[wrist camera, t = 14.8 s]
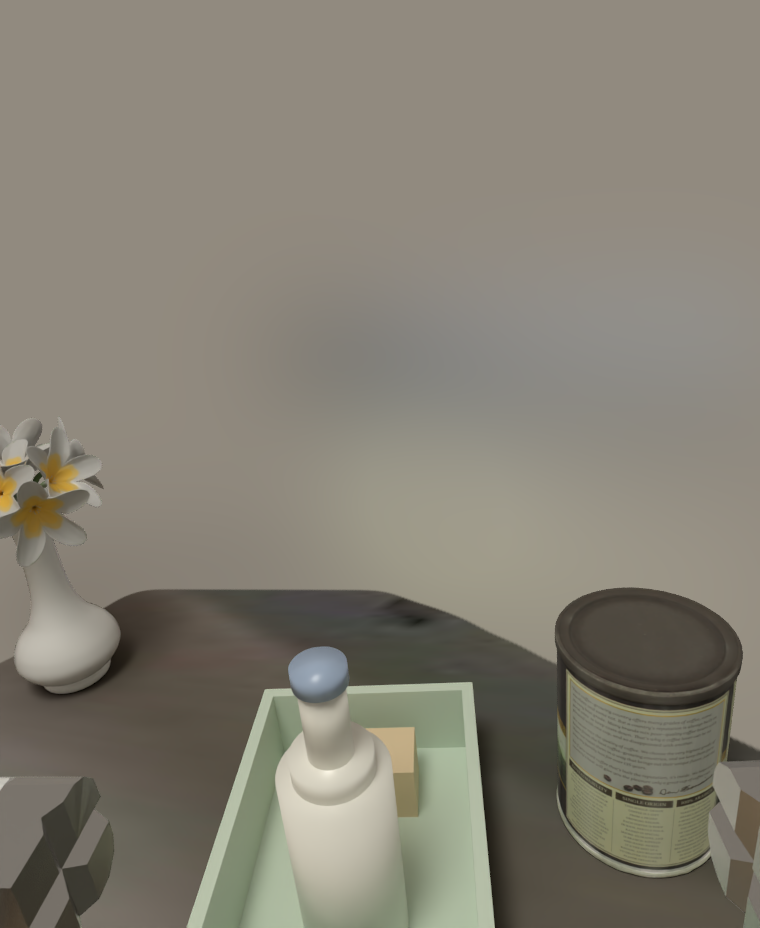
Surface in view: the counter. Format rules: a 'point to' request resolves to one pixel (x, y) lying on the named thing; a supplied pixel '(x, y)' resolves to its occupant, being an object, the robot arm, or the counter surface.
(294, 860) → the milk bottle
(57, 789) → the robot arm
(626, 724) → the coffee can
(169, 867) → the counter surface
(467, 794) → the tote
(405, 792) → the butter block
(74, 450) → the flower vase
